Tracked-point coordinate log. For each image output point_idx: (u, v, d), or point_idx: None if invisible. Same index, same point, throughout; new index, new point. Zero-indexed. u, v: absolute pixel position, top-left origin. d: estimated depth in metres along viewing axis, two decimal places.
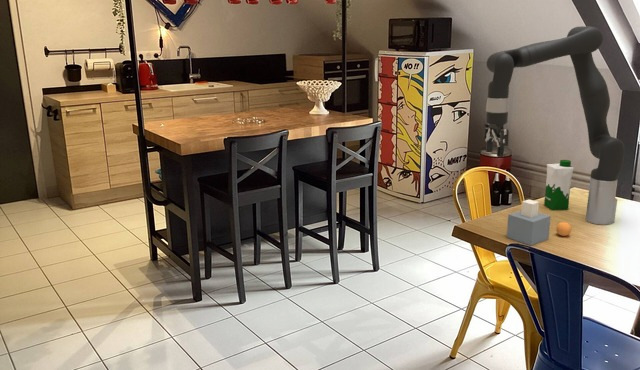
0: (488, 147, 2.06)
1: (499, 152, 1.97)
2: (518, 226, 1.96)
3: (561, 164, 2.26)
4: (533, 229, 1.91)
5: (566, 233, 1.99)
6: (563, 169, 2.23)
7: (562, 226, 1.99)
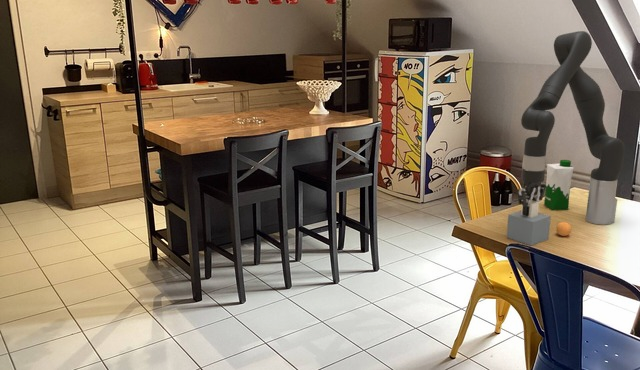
0: None
1: None
2: (518, 226, 1.96)
3: (561, 164, 2.26)
4: (533, 229, 1.91)
5: (566, 233, 1.99)
6: (563, 169, 2.23)
7: (562, 226, 1.99)
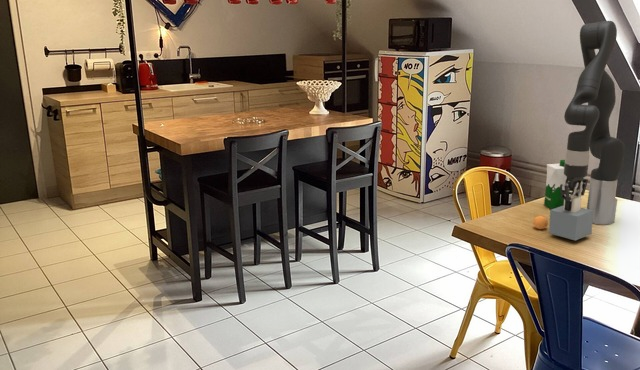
0: None
1: None
2: (561, 221, 1.95)
3: (561, 164, 2.26)
4: (577, 224, 1.91)
5: (533, 221, 2.09)
6: (563, 169, 2.23)
7: (538, 227, 2.07)
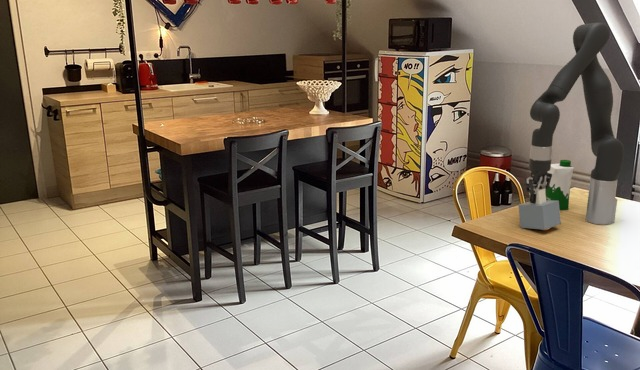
0: None
1: None
2: (529, 214, 2.06)
3: (561, 164, 2.26)
4: (543, 213, 2.01)
5: None
6: (563, 169, 2.23)
7: None
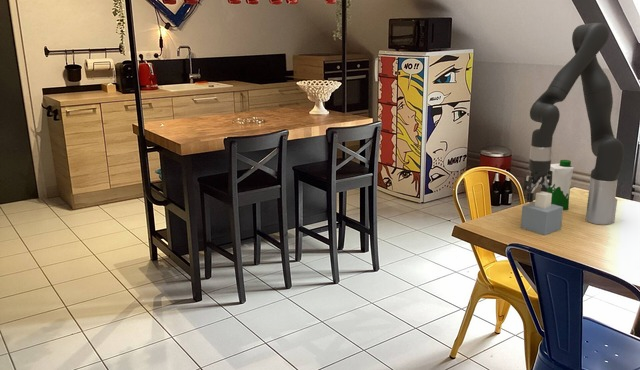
0: None
1: None
2: (532, 217, 2.05)
3: (561, 164, 2.26)
4: (546, 219, 2.01)
5: None
6: (563, 169, 2.23)
7: None
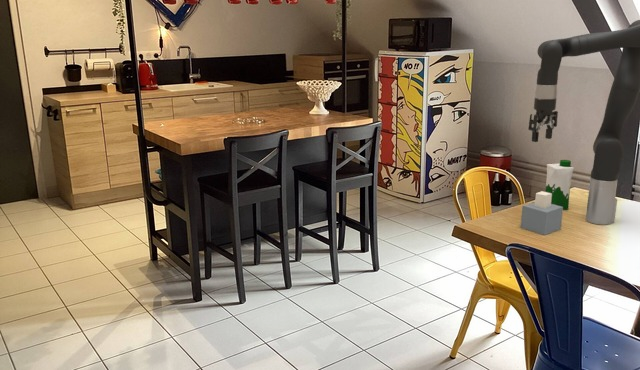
0: None
1: (551, 133, 2.10)
2: (532, 217, 2.05)
3: (561, 164, 2.26)
4: (546, 219, 2.01)
5: None
6: (563, 169, 2.23)
7: None
